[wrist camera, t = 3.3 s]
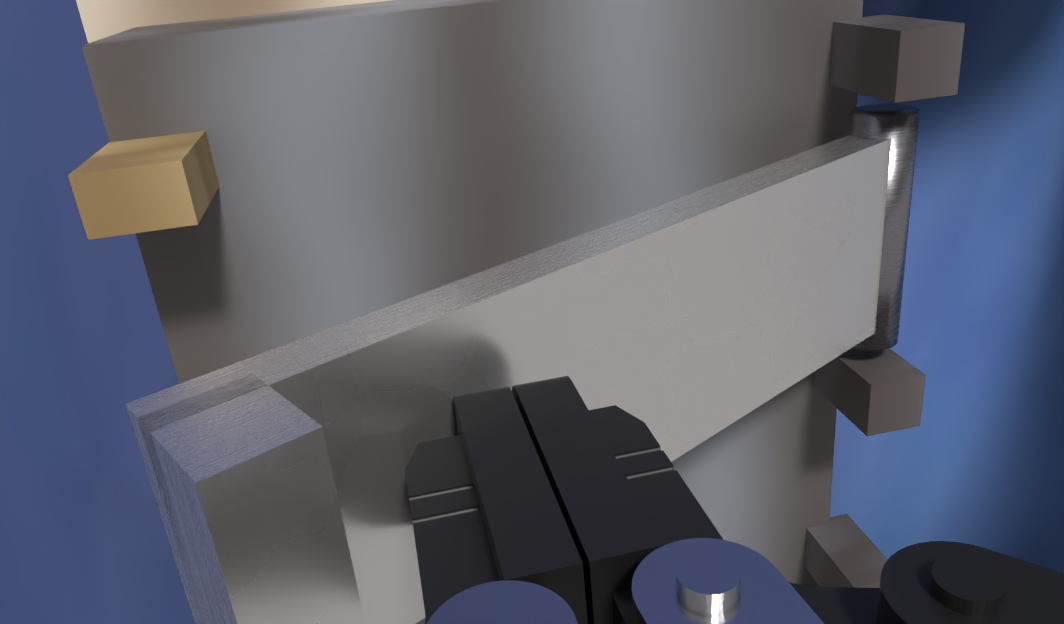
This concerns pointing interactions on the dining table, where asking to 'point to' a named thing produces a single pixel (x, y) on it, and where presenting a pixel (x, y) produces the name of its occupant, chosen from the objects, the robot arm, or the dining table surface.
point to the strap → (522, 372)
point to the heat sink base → (488, 179)
